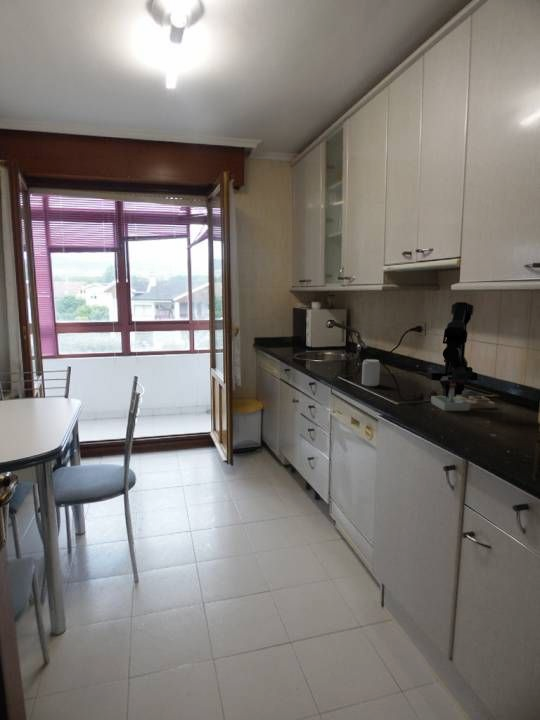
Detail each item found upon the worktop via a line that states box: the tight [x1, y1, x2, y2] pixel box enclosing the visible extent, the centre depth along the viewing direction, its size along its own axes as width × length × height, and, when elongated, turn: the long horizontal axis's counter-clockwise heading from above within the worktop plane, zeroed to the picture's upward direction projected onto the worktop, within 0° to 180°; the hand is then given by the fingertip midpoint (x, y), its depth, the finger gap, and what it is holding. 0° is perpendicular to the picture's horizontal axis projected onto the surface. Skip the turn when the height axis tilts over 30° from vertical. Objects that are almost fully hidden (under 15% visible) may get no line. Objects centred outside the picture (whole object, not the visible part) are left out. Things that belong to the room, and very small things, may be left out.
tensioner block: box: [456, 389, 496, 409], centre depth 183 cm, size 14×10×5 cm
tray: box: [430, 395, 471, 412], centre depth 178 cm, size 12×10×3 cm
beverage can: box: [361, 358, 381, 387], centre depth 215 cm, size 8×8×12 cm
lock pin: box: [446, 380, 457, 403], centre depth 178 cm, size 4×4×8 cm
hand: (450, 396), depth 178 cm, fingers closed on lock pin, 3 cm apart
